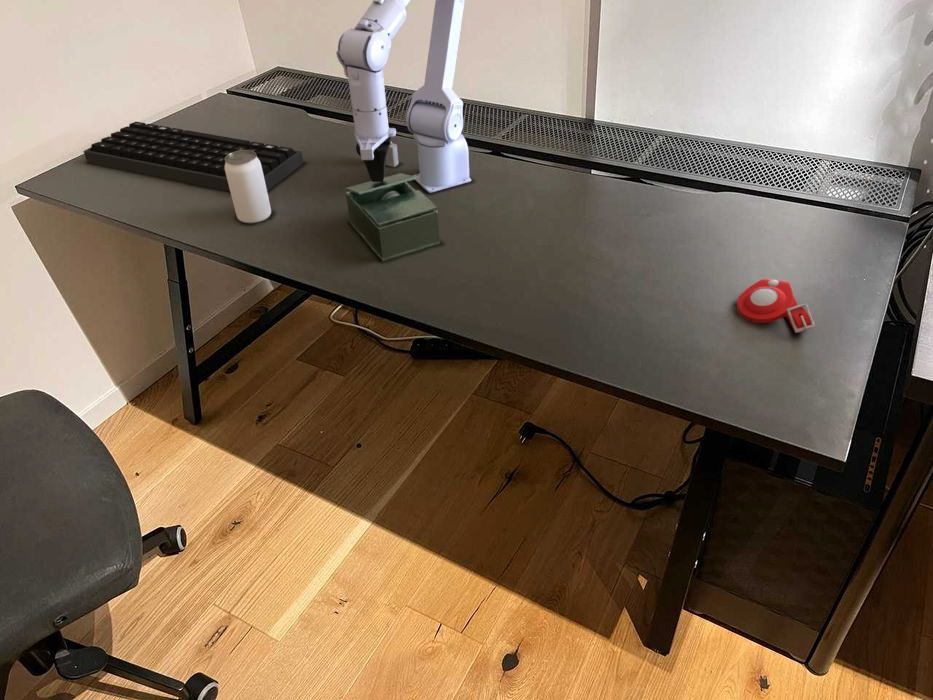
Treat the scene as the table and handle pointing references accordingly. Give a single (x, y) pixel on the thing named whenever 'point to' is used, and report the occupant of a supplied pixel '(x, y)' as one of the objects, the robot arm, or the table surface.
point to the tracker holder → (773, 304)
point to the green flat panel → (380, 183)
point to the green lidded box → (380, 215)
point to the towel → (393, 194)
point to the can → (247, 186)
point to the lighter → (392, 155)
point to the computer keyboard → (186, 155)
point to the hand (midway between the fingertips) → (377, 180)
